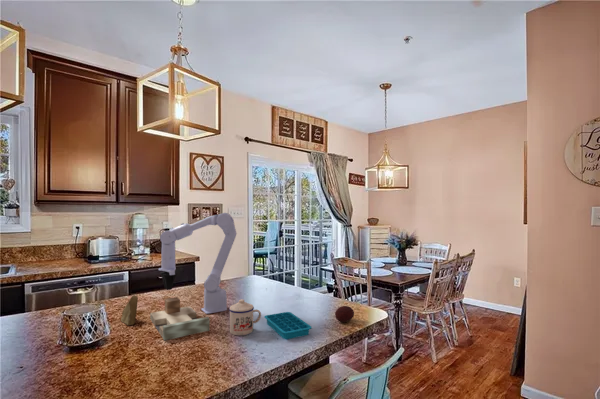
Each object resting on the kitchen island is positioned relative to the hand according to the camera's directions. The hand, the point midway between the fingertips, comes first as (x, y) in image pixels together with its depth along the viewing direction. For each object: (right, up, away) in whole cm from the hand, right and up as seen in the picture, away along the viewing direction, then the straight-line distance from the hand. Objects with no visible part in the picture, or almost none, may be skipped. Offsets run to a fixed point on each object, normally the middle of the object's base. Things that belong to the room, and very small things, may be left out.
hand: (168, 288), depth 141 cm
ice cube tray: (+53, -11, -19) cm, 57 cm away
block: (+4, -8, -6) cm, 11 cm away
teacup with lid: (+38, -10, -21) cm, 44 cm away
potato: (+76, -10, -11) cm, 78 cm away
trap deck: (+10, -10, -15) cm, 20 cm away
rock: (-12, -11, -11) cm, 19 cm away
